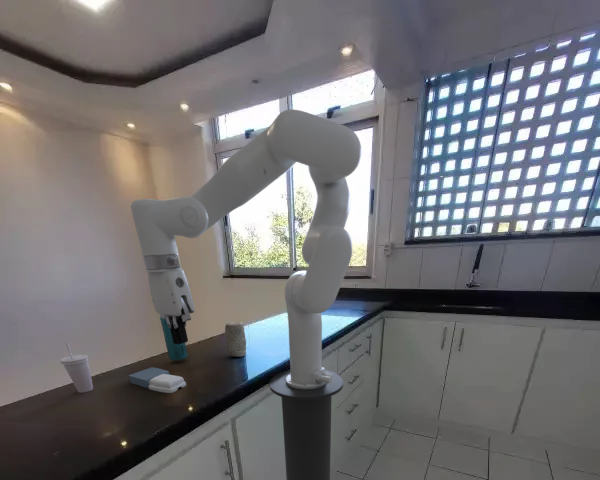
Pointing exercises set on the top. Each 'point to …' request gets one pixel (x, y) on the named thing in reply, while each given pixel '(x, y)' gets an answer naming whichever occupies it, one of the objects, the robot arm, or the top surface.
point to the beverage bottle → (173, 349)
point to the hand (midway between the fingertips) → (181, 342)
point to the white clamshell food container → (166, 383)
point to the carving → (235, 339)
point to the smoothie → (78, 370)
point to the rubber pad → (146, 376)
